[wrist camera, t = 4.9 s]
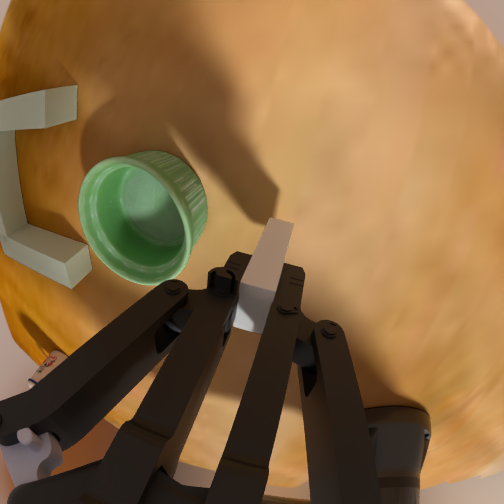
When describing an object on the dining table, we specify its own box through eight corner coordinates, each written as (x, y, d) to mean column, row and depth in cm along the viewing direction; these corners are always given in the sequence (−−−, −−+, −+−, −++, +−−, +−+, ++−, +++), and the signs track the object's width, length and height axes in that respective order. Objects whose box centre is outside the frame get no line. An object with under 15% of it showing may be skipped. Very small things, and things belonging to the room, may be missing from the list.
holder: (77, 84, 17) (45, 89, 14) (92, 269, 26) (71, 289, 23) (4, 99, 18) (-20, 106, 15) (22, 240, 28) (4, 253, 25)
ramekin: (120, 130, 18) (79, 143, 15) (231, 164, 18) (204, 185, 14) (111, 230, 23) (79, 255, 20) (201, 270, 23) (178, 305, 19)
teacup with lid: (55, 342, 40) (18, 387, 30) (93, 376, 42) (60, 424, 32) (49, 358, 46) (20, 396, 36) (80, 387, 48) (54, 426, 38)
